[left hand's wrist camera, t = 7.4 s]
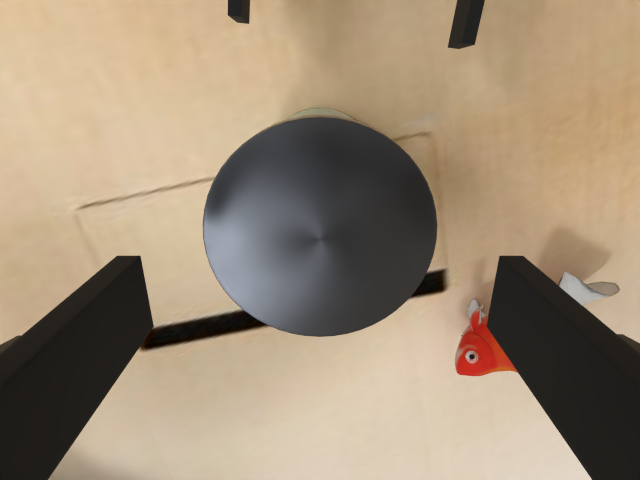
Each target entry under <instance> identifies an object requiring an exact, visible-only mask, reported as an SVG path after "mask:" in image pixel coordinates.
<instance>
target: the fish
mask: <svg viewBox="0 0 640 480" xmlns="http://www.w3.org/2000/svg"><path fill="white" fill-rule="evenodd" d="M558 286H559V287H561V288H562V289H563V290H564V291H565V292H567V293H568V294H569V295H570V296H571V297H573V298H574V299H575V300H576V301H577V302H579V303H580V304H581V305H582V306H583V305H584V304H587V303H589V302H592V301H594V300H597V299H600V298H605V297H610V296H612V295H614V294H616V293H618V292H619V290H620V289H619V287H618V285H616V284H615V283H609V282H597V283H591V284H587V285H586V284H585V283H583V282H582V281H581V280H580V279H578V278H576V277H574V276H573V275H571V274H569V273H567V272H566V271H565V273H564V274H563V276H562V278H561V280H560V282H559V284H558ZM484 305H485V304H483V305H482V306H479V304H478V302H477V300H476V299H473V300H472V302H471V304H470V306H469V308H468V316H469V319H470V326H469V327H468V328H467V329H466V330H465V332H464V333H463V335H461V336H462V338H461V340H460V342H459V345H458V348H457V352H456V356H455V366H456V371H457V373H459V374H460V375H467V376H481V375H485V374H488V373H491V372H497V371H515V372H517V370H516V369H515V367H514V366H513V364H512V363H511V361H510V360H509V359H508V357H507V356H506V354H505V353H504V351H503V350H502V348H501V347H500V346H499V344H498V343H497V341H496V340H495V338H494V337H493V335H492V334H491V333H490V331H489V330H488V328H487V327H486V326H487V321H488V316H486V317H485V313H484V311H483V308H484Z"/></svg>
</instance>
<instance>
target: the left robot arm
mask: <svg viewBox="0 0 640 480" xmlns="http://www.w3.org/2000/svg"><path fill="white" fill-rule="evenodd" d="M153 327H154V326H153V321H152V315H151V310H150V305H149V299H148V294H147V289H146V283H145V278H144V273H143V267H142V262H141V257H140V256H116V257H115V258H114V259H113V260H112V261H110V262H109V263H108V264H107V265H106V266H104V267H103V268H102V269H101V270H100V271H98V272H97V273H96V274H95V275H94V276H92V277H91V278H90V279H89V280H88V281H87V282H85V283H84V284H83V285H82V286H81V287H79V288H78V289H77V290H76V291H75V292H73V293H72V294H71V295H70V296H69V297H67V298H66V299H65V300H64V301H63V302H61V303H60V304H59V305H58V306H57V307H55V308H54V309H53V310H52V311H51V312H49V313H48V314H47V315H46V316H45V317H44V318H42V319H41V320H40V321H39V322H38V323H36V324H35V325H34V326H33V327H32V328H30V329H29V330H28V331H27V332H26V333H24V334H23V335H22V336H16V337H15V338H13V339H11V340H9V341H7V342H5V343H3V344H1V345H0V480H48V479H49V477H50V476H51V474H52V473H53V471H54V470H55V468H56V467H57V466H58V464H59V463H60V461H61V460H62V458H63V457H64V455H65V454H66V453H67V451H68V450H69V448H70V447H71V445H72V444H73V442H74V441H75V440H76V438H77V437H78V435H79V434H80V432H81V431H82V429H83V428H84V427H85V425H86V424H87V422H88V421H89V419H90V418H91V416H92V415H93V413H94V412H95V411H96V409H97V408H98V406H99V405H100V403H101V402H102V400H103V399H104V398H105V396H106V395H107V393H108V392H109V390H110V389H111V387H112V386H113V385H114V383H115V382H116V380H117V379H118V377H119V376H120V374H121V373H122V372H123V370H124V369H125V367H126V366H127V364H128V363H129V361H130V360H131V359H132V357H133V356H134V354H135V353H136V351H137V350H138V348H139V347H140V346H141V344H142V343H143V341H144V340H145V338H146V337H147V335H148V334H149V333H150V331H151V330H152V328H153ZM486 327H487V328H488V330H489V331H490V333H491V334H492V335H493V337H494V338H495V340H496V341H497V343H498V344H499V346H500V347H501V348H502V350H503V351H504V353H505V354H506V356H507V357H508V359H509V360H510V361H511V363H512V364H513V366H514V367H515V369H516V370H517V372H518V373H519V374H520V376H521V377H522V379H523V380H524V382H525V383H526V385H527V386H528V387H529V389H530V390H531V392H532V393H533V395H534V396H535V398H536V399H537V400H538V402H539V403H540V405H541V406H542V408H543V409H544V411H545V412H546V413H547V415H548V416H549V418H550V419H551V421H552V422H553V424H554V425H555V427H556V428H557V429H558V431H559V432H560V434H561V435H562V437H563V438H564V440H565V441H566V442H567V444H568V445H569V447H570V448H571V450H572V451H573V453H574V454H575V455H576V457H577V458H578V460H579V461H580V463H581V464H582V466H583V467H584V468H585V470H586V471H587V473H588V474H589V476H590V477H591V479H592V480H640V343H638V342H636V341H634V340H632V339H630V338H628V337H627V336H625V335H623V334H616V333H614V332H613V331H612V330H611V329H610V328H608V327H607V326H606V325H605V324H604V323H602V322H601V321H600V320H599V319H598V318H596V317H595V316H594V315H593V314H592V313H591V312H589V311H588V310H587V309H586V308H585V307H583V306H582V305H581V304H580V303H579V302H577V301H576V300H575V299H574V298H573V297H571V296H570V295H569V294H568V293H567V292H565V291H564V290H563V289H562V288H561V287H559V286H558V285H557V284H556V283H555V282H553V281H552V280H551V279H550V278H549V277H547V276H546V275H545V274H544V273H543V272H542V271H540V270H539V269H538V268H537V267H536V266H534V265H533V264H532V263H531V262H530V261H528V260H527V259H526V258H525V257H524V256H500V257H499V262H498V267H497V273H496V278H495V283H494V289H493V294H492V299H491V305H490V310H489V315H488V321H487V326H486Z"/></svg>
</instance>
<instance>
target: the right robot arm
mask: <svg viewBox="0 0 640 480" xmlns="http://www.w3.org/2000/svg"><path fill="white" fill-rule="evenodd" d="M484 1H485V0H457V5H456V10H455V15H454V19H453V24H452V29H451V34H450V39H449V44H448V48H456V49H460V48H464V47H468V46H472V45H475V41H476V36H477V32H478V27H479V23H480V18H481V14H482V10H483V5H484ZM249 12H250V0H228V16H230V17H231V18H232V19H234V20H235V21H236V22H238V23H247V24H249Z"/></svg>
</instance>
